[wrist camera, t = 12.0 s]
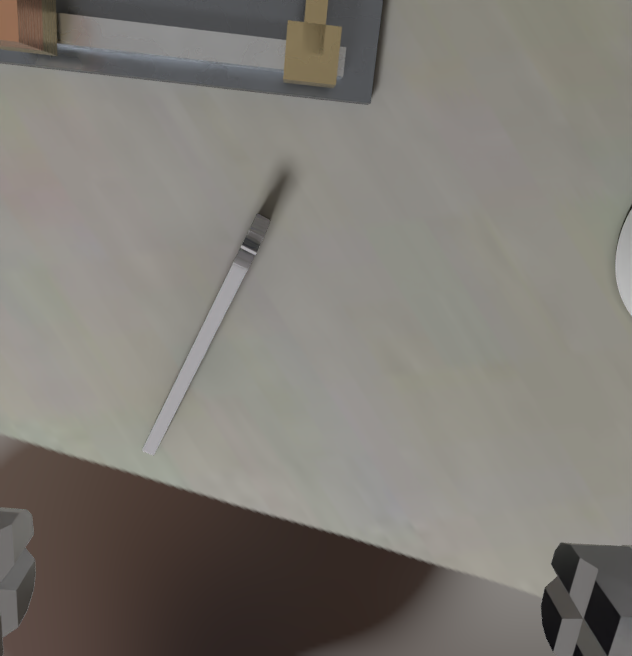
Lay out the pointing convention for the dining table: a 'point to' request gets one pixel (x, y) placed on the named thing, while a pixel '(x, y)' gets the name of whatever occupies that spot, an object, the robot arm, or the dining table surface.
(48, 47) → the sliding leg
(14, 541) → the robot arm
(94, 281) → the dining table surface
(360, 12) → the bolt plate
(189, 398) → the dining table surface
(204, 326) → the caliper
